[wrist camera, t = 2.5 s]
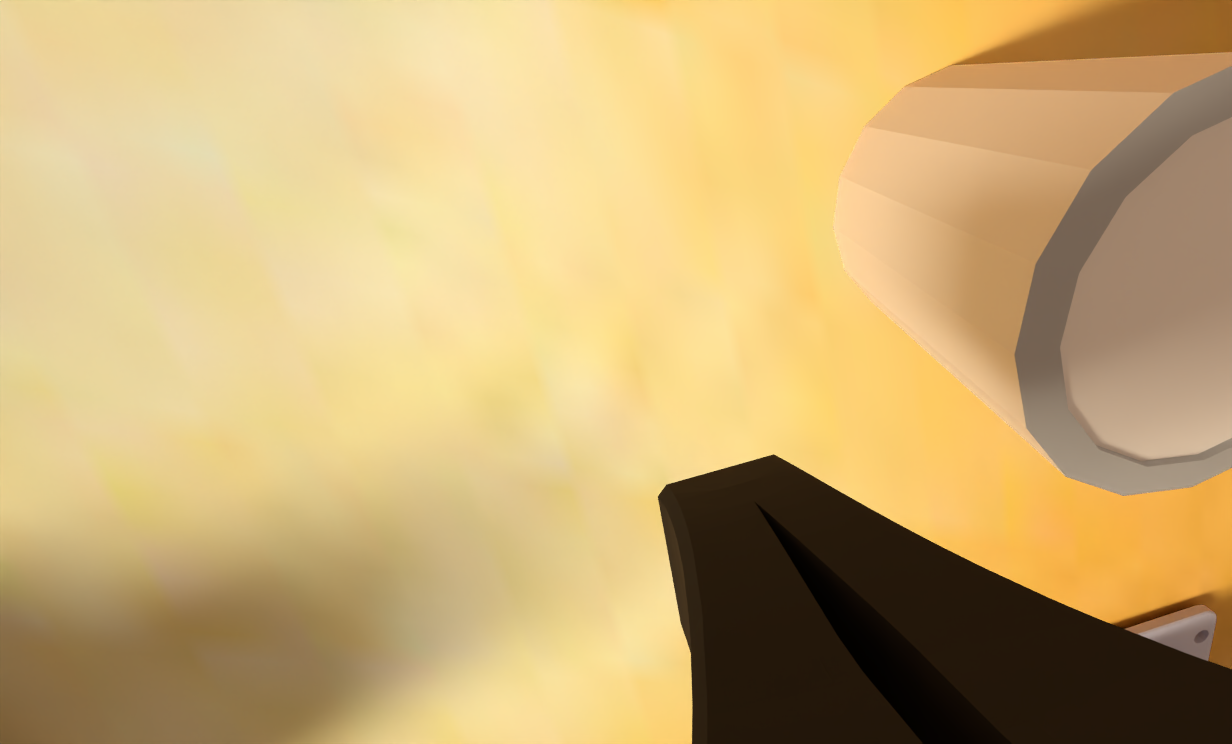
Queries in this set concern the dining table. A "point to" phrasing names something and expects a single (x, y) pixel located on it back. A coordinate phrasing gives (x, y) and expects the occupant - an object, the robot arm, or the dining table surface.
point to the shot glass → (1063, 252)
